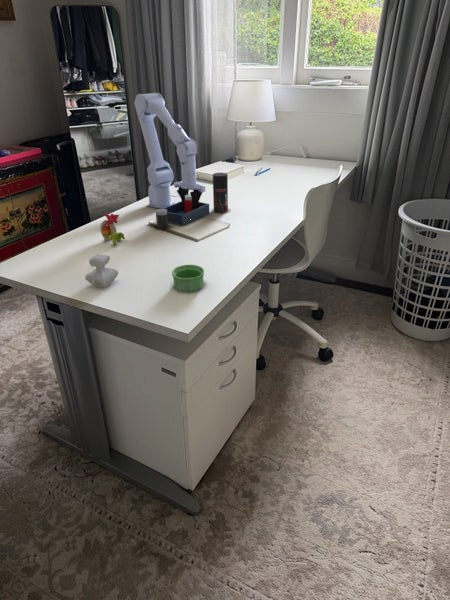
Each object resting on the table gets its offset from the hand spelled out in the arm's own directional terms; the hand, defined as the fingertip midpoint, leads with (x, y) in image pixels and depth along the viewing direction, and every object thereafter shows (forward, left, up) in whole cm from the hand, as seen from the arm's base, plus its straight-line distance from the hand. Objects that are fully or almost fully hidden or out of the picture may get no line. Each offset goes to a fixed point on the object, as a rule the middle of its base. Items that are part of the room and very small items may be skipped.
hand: (190, 207), depth 172 cm
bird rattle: (-4, -39, -3) cm, 39 cm away
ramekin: (+39, -49, -3) cm, 63 cm away
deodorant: (+8, +10, -3) cm, 13 cm away
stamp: (+18, -62, -3) cm, 65 cm away
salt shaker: (0, 0, -2) cm, 2 cm away
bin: (0, -4, -3) cm, 5 cm away
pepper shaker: (+1, -18, -3) cm, 18 cm away
